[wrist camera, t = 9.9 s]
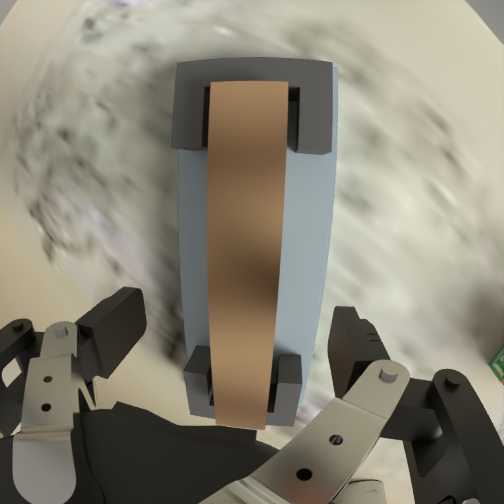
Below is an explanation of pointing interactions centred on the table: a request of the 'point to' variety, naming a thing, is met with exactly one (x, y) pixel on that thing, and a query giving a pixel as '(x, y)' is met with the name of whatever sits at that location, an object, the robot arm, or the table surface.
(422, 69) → the table surface
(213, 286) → the slat
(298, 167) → the cap board
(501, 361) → the stack of blocks
